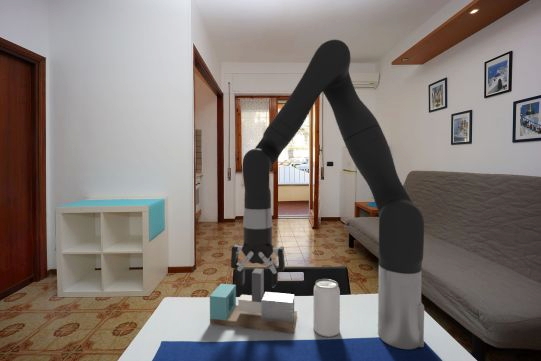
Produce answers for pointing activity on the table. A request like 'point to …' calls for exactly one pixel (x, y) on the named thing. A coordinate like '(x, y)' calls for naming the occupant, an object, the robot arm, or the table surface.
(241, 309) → the sliding bolt
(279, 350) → the table surface
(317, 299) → the can
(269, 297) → the grey speckled block
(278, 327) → the board
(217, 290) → the socket
